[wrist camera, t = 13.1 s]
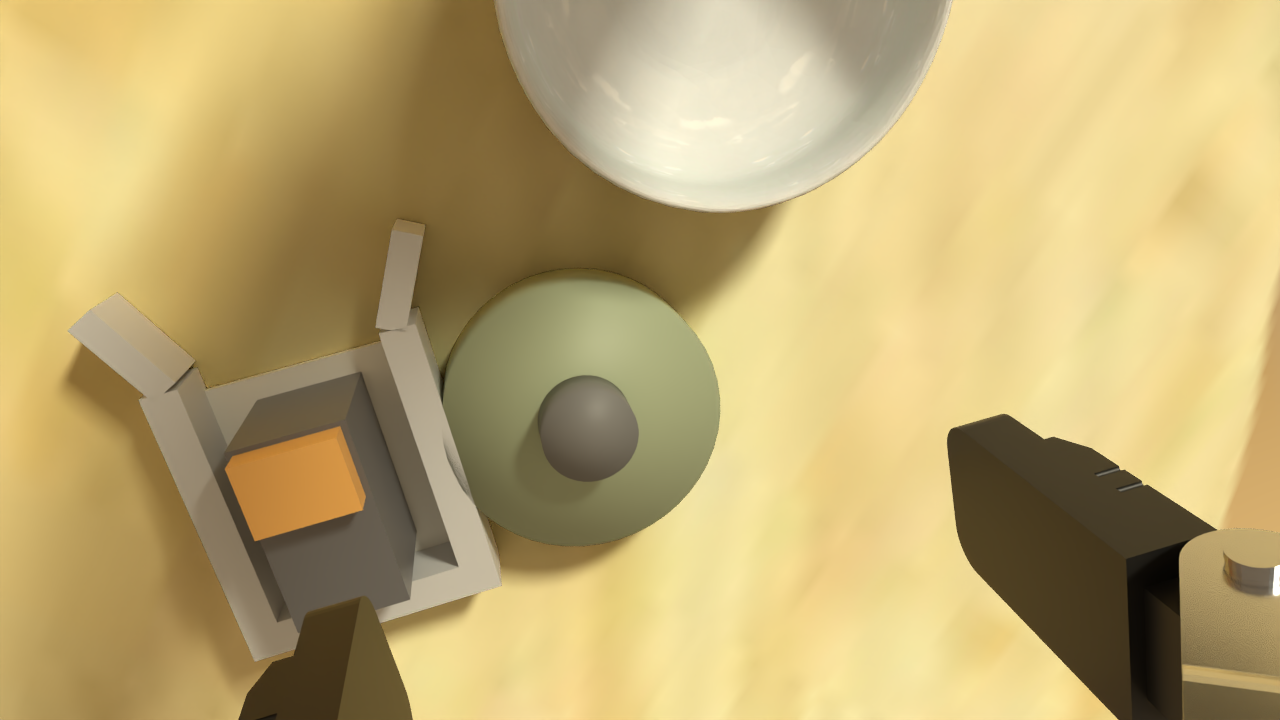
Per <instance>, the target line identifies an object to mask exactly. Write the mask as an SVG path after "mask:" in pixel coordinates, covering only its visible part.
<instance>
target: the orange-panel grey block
mask: <svg viewBox="0 0 1280 720" xmlns="http://www.w3.org/2000/svg"><path fill="white" fill-rule="evenodd" d="M224 455H225V458H226V460H227V463H228V464H227V466H226V468H225V471H226V473H227V476H228V478H229V480H230V483H231V485H232V488H233V490H234V492H235V495H236V497H237V500H238V502H239V505H240V507H241V509H242V512H243V514H244V517H245V519H246V521H247V524H248V526H249V529H250V531H251V533H252V536H253V538H254V541H258V540H260V542H261V545H262V547H263V550H264V552H265V554H266V557H267V559H268V562H269V564H270V567H271V569H272V571H273V574H274V576H275V579H276V581H277V583H278V586H279V588H280V591H281V593H282V596H283V598H284V600H285V603H286V605H287V608H288V610H289V613H290V615H291V617H292V620H293V622H294V625H295V627H296V629H297V632H298V633H300V631H301V627H302V624H303V620H304V617H305V615H306V613H307V612H309V611H312V610H315V609H319V608H322V607H326V606H329V605H333V604H336V603H340V602H343V601H347V600H350V599H354V598H357V597H361V596H366V597H368V599H369V600H370V601H371V603H372V605H373V607H374V609H375V610H378V609H381V608H384V607H388V606H391V605H394V604H398V603H401V602H404V601H408V600H410V597H411V587H412V576H413V566H414V555H415V545H416V534H417V530H416V527H415V524H414V521H413V519H412V516H411V513H410V510H409V507H408V504H407V501H406V499H405V496H404V493H403V490H402V487H401V484H400V481H399V478H398V476H397V473H396V470H395V467H394V464H393V461H392V458H391V456H390V453H389V450H388V447H387V444H386V441H385V438H384V435H383V433H382V430H381V427H380V424H379V421H378V418H377V415H376V413H375V410H374V407H373V404H372V401H371V398H370V395H369V393H368V390H367V387H366V384H365V381H364V378H363V375H362V372H357V373H354V374H350V375H346V376H343V377H339V378H335V379H332V380H328V381H324V382H321V383H317V384H313V385H310V386H306V387H303V388H299V389H295V390H292V391H288V392H284V393H281V394H277V395H273V396H270V397H266V398H262V399H259V400H257V401H256V402H255V404H254V406H253V407H252V409H251V410H250V412H249V414H248V415H247V417H246V418H245V420H244V422H243V423H242V425H241V426H240V428H239V429H238V431H237V433H236V434H235V436H234V437H233V439H232V441H231V442H230V444H229V445H228V447H227V449H226V450H225V452H224Z"/></svg>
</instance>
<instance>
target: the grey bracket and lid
mask: <svg viewBox="0 0 1280 720" xmlns="http://www.w3.org/2000/svg"><path fill="white" fill-rule="evenodd" d="M425 226H426V225H425V224H420V223H415V222H411V221H406V220H401V219H396V221H395V224H394V226H393V228H392V232H391V238H390V243H389V249H388V255H387V261H386V267H385V273H384V279H383V285H382V291H381V297H380V302H379V308H378V314H377V320H376V326H375V328H380V331H379V337H380V340H381V341H378V342H374V343H370V344H367V345H363V346H360V347H356V348H352V349H349V350H345V351H342V352H338V353H334V354H331V355H327V356H323V357H320V358H316V359H313V360H309V361H305V362H302V363H298V364H295V365H291V366H287V367H284V368H280V369H276V370H273V371H269V372H266V373H262V374H258V375H255V376H251V377H248V378H244V379H240V380H237V381H233V382H230V383H226V384H222V385H219V386H215V387H211V388H208V389H206V387H205V384H204V382H203V379H202V377H201V375H200V372H199V370H198V367H197V368H193V369H190V370H188V369H189V368H190V366H191V365H192V364H193V363H194V362H195V361H196V360H194V359H193V358H192V357H191V356H190V355H189V354H188V353H186V352H185V351H184V350H183V349H182V348H181V347H180V346H178V345H177V344H176V343H175V342H174V341H173V340H171V339H170V338H169V337H168V336H167V335H166V334H165V333H163V332H162V331H161V330H160V329H159V328H158V327H157V326H155V325H154V324H153V323H152V322H151V321H150V320H148V319H147V318H146V317H145V316H144V315H143V314H142V313H140V312H139V311H138V310H137V309H136V308H135V307H134V306H132V305H131V304H130V303H129V302H128V301H127V300H125V299H124V298H123V297H122V296H121V295H120V294H119V293H116V294H114V295H112V296H111V297H109V298H108V299H106V300H105V301H103V302H101V303H100V304H98V305H97V306H95V307H93V308H92V309H90V310H89V311H88V312H87V313H86V314H85V315H84V316H83V317H82V318H80V319H79V320H78V321H77V322H76V323H75V324H74V325H73V326H72V327H71V328H70V329H69V330H68V332H69V333H70V334H71V335H73V336H74V337H75V338H76V339H77V340H79V341H80V342H81V343H82V344H83V345H85V346H86V347H87V348H88V349H89V350H91V351H92V352H93V353H94V354H95V355H96V356H98V357H99V358H100V359H101V360H102V361H104V362H105V363H106V364H107V365H108V366H110V367H111V368H112V369H113V370H114V371H116V372H117V373H118V374H119V375H120V376H122V377H123V378H124V379H125V380H126V381H128V382H129V383H130V384H131V385H132V386H134V387H135V388H136V389H137V390H138V391H140V392H141V393H142V394H143V396H142V397H141V398H140V399H139V400H138V401H139V403H140V405H141V407H142V410H143V412H144V414H145V416H146V418H147V421H148V423H149V425H150V427H151V430H152V432H153V434H154V436H155V439H156V441H157V443H158V445H159V448H160V450H161V452H162V454H163V457H164V459H165V461H166V463H167V466H168V468H169V470H170V472H171V475H172V477H173V479H174V481H175V484H176V486H177V488H178V490H179V493H180V495H181V497H182V499H183V502H184V504H185V506H186V508H187V511H188V513H189V515H190V517H191V520H192V522H193V524H194V526H195V529H196V531H197V533H198V535H199V538H200V540H201V542H202V544H203V547H204V549H205V551H206V553H207V556H208V558H209V560H210V562H211V565H212V567H213V569H214V571H215V574H216V576H217V578H218V580H219V583H220V585H221V587H222V589H223V592H224V594H225V596H226V598H227V600H228V603H229V605H230V607H231V609H232V612H233V614H234V616H235V618H236V621H237V623H238V625H239V627H240V630H241V632H242V634H243V636H244V639H245V641H246V643H247V645H248V648H249V650H250V652H251V654H252V657H253V659H254V661H255V662H256V661H259V660H262V659H266V658H269V657H272V656H275V655H279V654H282V653H285V652H288V651H292V650H295V649H296V645H297V642H298V638H299V634H300V633H298V632H297V629H296V627H295V625H294V622H293V620H292V617H291V615H290V613H289V610H288V608H287V605H286V603H285V600H284V598H283V596H282V593H281V591H280V588H279V586H278V583H277V581H276V579H275V576H274V574H273V571H272V569H271V567H270V564H269V562H268V559H267V557H266V554H265V552H264V550H263V547H262V545H261V542H260V540H258V541H254V538H253V536H252V533H251V531H250V529H249V526H248V524H247V521H246V519H245V517H244V514H243V512H242V509H241V507H240V505H239V502H238V500H237V497H236V495H235V492H234V490H233V488H232V485H231V483H230V480H229V478H228V476H227V473H226V471H225V468H226V466H227V464H228V463H227V460H226V458H225V455H224V452H225V450H226V449H227V447H228V445H229V444H230V442H231V441H232V439H233V437H234V436H235V434H236V433H237V431H238V429H239V428H240V426H241V425H242V423H243V422H244V420H245V418H246V417H247V415H248V414H249V412H250V410H251V409H252V407H253V406H254V404H255V402H256V401H257V400H259V399H262V398H266V397H270V396H273V395H277V394H281V393H284V392H288V391H292V390H295V389H299V388H303V387H306V386H310V385H313V384H317V383H321V382H324V381H328V380H332V379H335V378H339V377H343V376H346V375H350V374H354V373H357V372H362V375H363V378H364V381H365V384H366V387H367V390H368V393H369V395H370V398H371V401H372V404H373V407H374V410H375V413H376V415H377V418H378V421H379V424H380V427H381V430H382V433H383V435H384V438H385V441H386V444H387V447H388V450H389V453H390V456H391V458H392V461H393V464H394V467H395V470H396V473H397V476H398V478H399V481H400V484H401V487H402V490H403V493H404V496H405V499H406V501H407V504H408V507H409V510H410V513H411V516H412V519H413V521H414V524H415V527H416V530H417V534H416V545H415V555H414V566H413V576H412V587H411V597H410V600H408V601H404V602H401V603H398V604H394V605H391V606H388V607H384V608H381V609H378V610H375V611H376V614H377V616H378V619H379V621H380V623H383V622H386V621H389V620H392V619H396V618H399V617H402V616H405V615H409V614H412V613H415V612H418V611H422V610H425V609H428V608H431V607H435V606H438V605H441V604H444V603H448V602H451V601H454V600H457V599H461V598H464V597H467V596H470V595H474V594H477V593H480V592H483V591H487V590H490V589H493V588H496V587H500V586H502V583H501V570H500V558H499V552H498V549H497V545H496V542H495V539H494V536H493V533H492V530H491V527H490V524H489V521H488V518H487V517H489V518H490V519H491V520H493V521H494V522H496V523H497V524H498V525H500V526H501V527H503V528H505V529H507V530H509V531H511V532H513V533H515V534H517V535H520V536H522V537H525V538H527V539H530V540H533V541H537V542H542V543H546V544H551V545H560V546H588V545H596V544H603V543H607V542H611V541H615V540H619V539H621V538H624V537H627V536H629V535H632V534H635V533H637V532H639V531H641V530H642V529H644V528H646V527H648V526H650V525H652V524H653V523H655V522H656V521H658V520H659V519H661V518H662V517H664V516H665V515H666V514H667V513H669V512H670V511H671V510H672V509H673V508H674V507H676V506H677V505H678V504H679V503H680V502H681V501H682V500H683V498H684V497H685V496H686V495H687V494H688V493H689V492H690V491H691V489H692V488H693V486H694V485H695V484H696V482H697V481H698V480H699V478H700V476H701V474H702V473H703V471H704V469H705V467H706V465H707V464H708V461H709V459H710V456H711V454H712V451H713V449H714V445H715V442H716V438H717V434H718V428H719V420H720V395H719V388H718V382H717V378H716V375H715V371H714V368H713V365H712V362H711V360H710V358H709V356H708V354H707V351H706V349H705V348H704V346H703V345H702V343H701V341H700V340H699V338H698V337H697V335H696V334H695V333H694V332H693V330H692V329H691V328H690V327H689V326H688V325H687V323H686V322H685V321H684V320H683V319H682V318H681V317H680V316H679V315H678V313H677V312H676V311H675V310H674V309H673V308H672V307H671V306H670V305H669V304H668V303H667V302H666V301H665V300H664V299H662V298H661V297H660V296H659V295H658V294H656V293H655V292H653V291H652V290H650V289H649V288H647V287H646V286H644V285H643V284H641V283H639V282H636V281H634V280H632V279H630V278H628V277H625V276H622V275H619V274H616V273H613V272H608V271H603V270H598V269H587V268H570V269H558V270H553V271H549V272H544V273H540V274H537V275H534V276H531V277H528V278H526V279H523V280H521V281H519V282H517V283H515V284H513V285H511V286H509V287H508V288H506V289H505V290H503V291H502V292H500V293H499V294H497V295H496V296H494V297H493V298H492V299H491V300H489V301H488V302H487V303H486V304H485V305H484V306H483V307H481V308H480V309H479V311H478V312H477V313H476V314H475V315H474V316H473V317H472V319H471V320H470V321H469V322H468V323H467V325H466V326H465V328H464V329H463V331H462V333H461V334H460V336H459V337H458V339H457V341H456V343H455V345H454V348H453V350H452V352H451V355H450V358H449V361H448V364H447V367H446V371H445V377H444V383H443V380H442V377H441V374H440V371H439V368H438V365H437V362H436V359H435V356H434V353H433V350H432V346H431V343H430V340H429V337H428V334H427V331H426V328H425V325H424V322H423V319H422V316H421V313H420V310H419V307H416V308H412V309H411V304H412V299H413V293H414V288H415V282H416V276H417V271H418V265H419V259H420V254H421V248H422V243H423V237H424V231H425Z"/></svg>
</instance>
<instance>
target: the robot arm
mask: <svg viewBox="0 0 1280 720" xmlns="http://www.w3.org/2000/svg"><path fill="white" fill-rule="evenodd" d="M947 448H948V458H949V466H950V475H951V484H952V493H953V502H954V511H955V520H956V527H957V533H958V537H959V540H960V543H961V546H962V548H963V551H964V553H965V555H966V557H967V559H968V561H969V562H970V564H971V566H972V567H973V568H974V570H975V571H976V572H977V573H978V574H979V575H980V576H981V577H982V578H983V580H984V581H985V582H986V583H987V584H988V585H989V586H990V587H991V588H992V589H993V590H994V591H995V592H996V593H997V594H998V595H999V596H1000V597H1001V598H1002V599H1003V600H1004V601H1005V602H1006V603H1007V604H1008V605H1009V606H1010V608H1011V609H1012V610H1013V611H1014V612H1015V613H1016V614H1017V615H1018V616H1019V617H1020V618H1021V619H1022V620H1023V621H1024V622H1025V623H1026V624H1027V625H1028V626H1029V627H1030V628H1031V629H1032V630H1033V631H1034V632H1035V633H1036V635H1037V636H1038V637H1039V638H1040V639H1041V640H1042V641H1043V642H1044V643H1045V644H1046V645H1047V646H1048V647H1049V648H1050V649H1051V650H1052V651H1053V652H1054V653H1055V654H1056V655H1057V656H1058V657H1059V658H1060V659H1061V660H1062V662H1063V663H1064V664H1065V665H1066V666H1067V667H1068V668H1069V669H1070V670H1071V671H1072V672H1073V673H1074V674H1075V675H1076V676H1077V677H1078V678H1079V679H1080V680H1081V681H1082V682H1083V683H1084V684H1085V685H1086V686H1087V687H1088V688H1089V690H1090V691H1091V692H1092V693H1093V694H1094V695H1095V696H1096V697H1097V698H1098V699H1099V700H1100V701H1101V702H1102V703H1103V704H1104V705H1105V706H1106V707H1107V708H1108V709H1109V710H1110V711H1111V712H1112V713H1113V714H1114V715H1115V717H1116V718H1117V719H1118V720H1280V533H1278V532H1273V531H1267V530H1259V529H1245V528H1242V529H1241V528H1236V529H1223V530H1217V529H1215V528H1213V527H1212V526H1210V525H1209V524H1207V523H1206V522H1204V521H1203V520H1201V519H1200V518H1198V517H1196V516H1195V515H1193V514H1192V513H1190V512H1189V511H1187V510H1186V509H1184V508H1183V507H1181V506H1180V505H1178V504H1176V503H1175V502H1173V501H1172V500H1170V499H1169V498H1167V497H1166V496H1164V495H1163V494H1161V493H1160V492H1158V491H1156V490H1155V489H1153V488H1152V487H1150V486H1149V485H1145V486H1144V485H1143V484H1142V481H1141V480H1139V479H1138V478H1136V477H1135V476H1133V475H1132V474H1130V473H1129V472H1127V471H1126V470H1120V469H1119V466H1118V465H1116V464H1115V463H1113V462H1112V461H1110V460H1109V459H1107V458H1106V457H1104V456H1103V455H1101V454H1099V453H1098V452H1096V451H1095V450H1093V449H1092V448H1089V447H1086V446H1082V445H1079V444H1076V443H1072V442H1069V441H1066V440H1062V439H1059V438H1056V437H1051V438H1047V439H1043V438H1041V437H1040V436H1038V435H1037V434H1036V433H1034V432H1033V431H1031V430H1030V429H1028V428H1027V427H1025V426H1024V425H1022V424H1021V423H1020V422H1018V421H1017V420H1015V419H1014V418H1012V417H1011V416H1009V415H1006V414H1000V415H997V416H994V417H990V418H987V419H983V420H980V421H976V422H973V423H969V424H966V425H962V426H959V427H955V428H953V429H951V430H950V431H949V434H948V438H947ZM239 720H413V719H412V713H411V708H410V704H409V700H408V696H407V693H406V690H405V687H404V684H403V682H402V679H401V676H400V674H399V671H398V669H397V666H396V663H395V661H394V658H393V655H392V653H391V650H390V648H389V645H388V642H387V640H386V637H385V635H384V632H383V629H382V627H381V624H380V621H379V619H378V616H377V614H376V611H375V609H374V607H373V605H372V603H371V601H370V600H369V599H368V597H366V596H361V597H357V598H354V599H350V600H347V601H343V602H340V603H336V604H333V605H329V606H326V607H322V608H319V609H315V610H312V611H309V612H307V613H306V615H305V617H304V620H303V624H302V627H301V631H300V634H299V638H298V642H297V645H296V649H295V652H294V656H292V657H289V658H285V659H282V660H278V661H275V662H272V664H271V665H270V666H269V667H268V669H267V670H266V671H265V672H264V674H263V675H262V676H261V677H260V679H259V680H258V681H257V682H256V684H255V685H254V686H253V687H252V688H251V690H250V691H249V692H248V693H247V696H246V699H245V702H244V705H243V708H242V711H241V714H240V717H239Z"/></svg>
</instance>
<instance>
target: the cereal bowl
mask: <svg viewBox="0 0 1280 720" xmlns="http://www.w3.org/2000/svg"><path fill="white" fill-rule="evenodd" d="M493 2H494V5H495V9H496V17H497V20H498V25H499V31H500V33H501V35H502V40H503V43H504V46H505V48H506V51H507V55H508V58H509V60H510V62H511V65H512V67H513V70H514V72H515V73H516V76H517V79H518V81H519V83H520V85H521V86H522V88H523V90H524V92H525V94H526V96H527V98H528V99H529V101H530V102H531V104H532V106H533V108H534V109H535V111H536V112H537V113H538V115H539V116H540V118H541V119H542V121H543V122H544V124H545V125H546V126H547V127H548V129H549V130H550V131H551V133H552V134H553V135H554V136H555V137H556V138H557V139H558V140H559V141H560V142H561V144H562V145H564V146H565V147H566V149H567V150H568V151H569V152H570V153H571V154H572V155H573V156H575V157H576V158H577V159H578V160H580V161H581V162H582V163H583V164H585V165H586V166H587V167H588V168H589V169H591V170H592V171H593V172H594V173H596V174H598V175H599V176H601V177H603V178H604V179H606V180H608V181H609V182H611V183H612V184H614V185H616V186H617V187H620V188H622V189H624V190H626V191H628V192H630V193H633V194H635V195H637V196H639V197H641V198H643V199H647V200H650V201H654V202H657V203H660V204H663V205H666V206H669V207H674V208H680V209H685V210H691V211H697V212H710V213H731V212H741V211H749V210H755V209H761V208H765V207H768V206H772V205H776V204H780V203H783V202H785V201H788V200H791V199H793V198H796V197H799V196H801V195H804V194H806V193H808V192H810V191H812V190H814V189H816V188H818V187H820V186H822V185H823V184H825V183H827V182H829V181H830V180H832V179H834V178H835V177H837V176H838V175H840V174H841V173H843V172H844V171H846V170H847V169H848V168H850V167H851V166H852V165H854V164H855V163H856V162H858V161H859V160H860V159H861V158H862V157H863V156H865V155H866V154H867V153H868V152H869V151H870V150H871V149H872V148H873V147H874V146H875V145H876V144H877V143H878V142H879V141H880V140H881V139H882V138H883V137H884V136H885V135H886V134H887V133H888V131H889V130H890V129H891V128H892V127H893V125H894V124H895V123H896V122H897V121H898V119H899V118H900V117H901V115H902V114H903V113H904V111H905V110H906V108H907V107H908V106H909V104H910V102H911V101H912V99H913V97H914V96H915V94H916V93H917V91H918V89H919V87H920V85H921V84H922V82H923V80H924V78H925V76H926V74H927V72H928V70H929V68H930V66H931V64H932V62H933V59H934V57H935V54H936V52H937V49H938V47H939V44H940V42H941V39H942V36H943V33H944V30H945V27H946V24H947V21H948V17H949V14H950V9H951V5H952V0H493Z"/></svg>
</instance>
